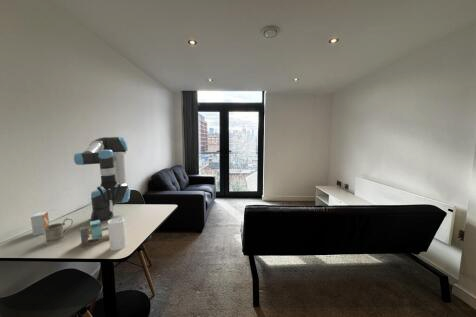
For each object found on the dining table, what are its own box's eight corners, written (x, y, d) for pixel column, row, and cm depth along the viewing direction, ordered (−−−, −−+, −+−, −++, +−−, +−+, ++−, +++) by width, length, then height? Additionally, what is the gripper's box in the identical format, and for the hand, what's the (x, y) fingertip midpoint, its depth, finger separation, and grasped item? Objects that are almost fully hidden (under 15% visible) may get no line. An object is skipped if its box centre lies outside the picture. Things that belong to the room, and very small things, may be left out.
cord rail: (81, 243, 124) (79, 227, 122) (117, 233, 136) (116, 218, 135) (82, 247, 118) (80, 231, 117) (119, 236, 130) (118, 221, 129)
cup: (114, 243, 122) (112, 217, 121) (128, 242, 123) (126, 217, 121) (107, 251, 114) (104, 223, 112) (122, 250, 115) (120, 222, 113)
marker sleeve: (91, 235, 126) (89, 221, 125) (100, 233, 130) (99, 219, 129) (92, 239, 121) (90, 225, 120) (102, 237, 124) (100, 223, 123)
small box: (45, 233, 137) (43, 215, 136) (32, 236, 134) (30, 217, 133) (50, 229, 144) (47, 211, 143) (38, 231, 142) (35, 212, 140)
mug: (48, 246, 120) (45, 227, 119) (42, 242, 125) (40, 223, 124) (77, 236, 132) (75, 218, 131) (71, 232, 138) (69, 215, 136)
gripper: (95, 177, 120) (100, 215, 123) (120, 174, 128) (124, 209, 131) (94, 175, 126) (98, 211, 129) (118, 172, 134) (121, 206, 137)
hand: (111, 210), depth 130 cm, fingers closed
